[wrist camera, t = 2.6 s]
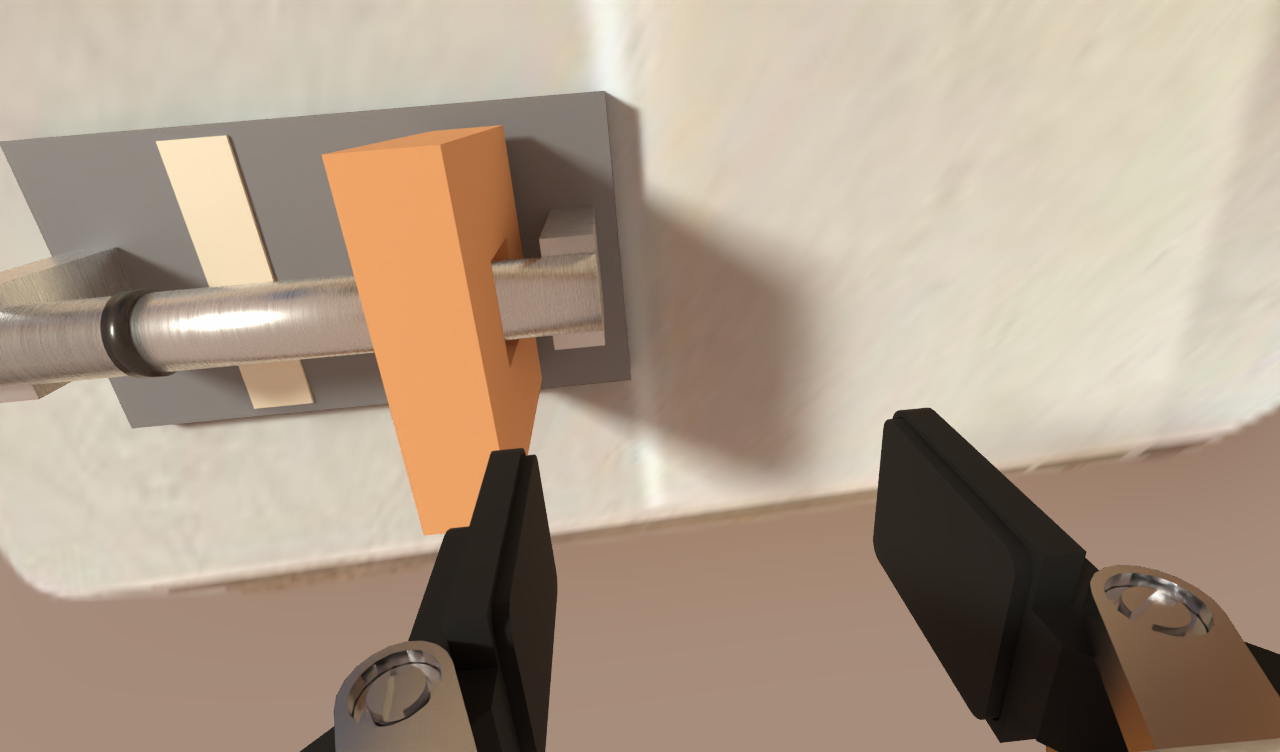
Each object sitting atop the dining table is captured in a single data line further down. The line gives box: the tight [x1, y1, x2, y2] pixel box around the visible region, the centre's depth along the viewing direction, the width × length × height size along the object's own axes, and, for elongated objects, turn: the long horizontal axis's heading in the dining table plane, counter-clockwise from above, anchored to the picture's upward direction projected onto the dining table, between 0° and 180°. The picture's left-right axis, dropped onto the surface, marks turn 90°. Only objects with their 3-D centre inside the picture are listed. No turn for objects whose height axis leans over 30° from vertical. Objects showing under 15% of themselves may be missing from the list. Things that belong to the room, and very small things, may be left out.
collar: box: [322, 125, 542, 535], centre depth 24 cm, size 3×12×12 cm, turn 4°
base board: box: [0, 91, 631, 428], centre depth 31 cm, size 26×14×2 cm, turn 94°
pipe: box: [0, 205, 605, 403], centre depth 26 cm, size 24×4×9 cm, turn 94°
